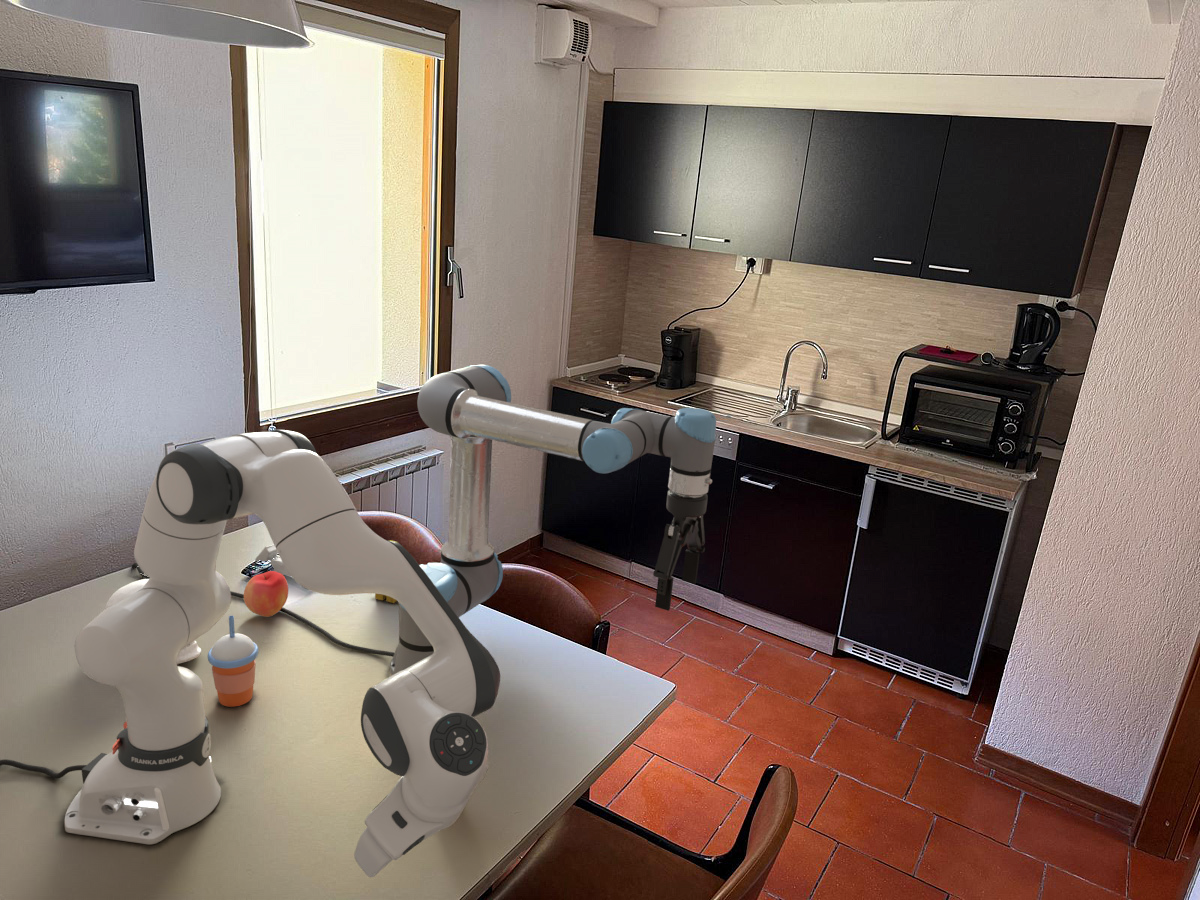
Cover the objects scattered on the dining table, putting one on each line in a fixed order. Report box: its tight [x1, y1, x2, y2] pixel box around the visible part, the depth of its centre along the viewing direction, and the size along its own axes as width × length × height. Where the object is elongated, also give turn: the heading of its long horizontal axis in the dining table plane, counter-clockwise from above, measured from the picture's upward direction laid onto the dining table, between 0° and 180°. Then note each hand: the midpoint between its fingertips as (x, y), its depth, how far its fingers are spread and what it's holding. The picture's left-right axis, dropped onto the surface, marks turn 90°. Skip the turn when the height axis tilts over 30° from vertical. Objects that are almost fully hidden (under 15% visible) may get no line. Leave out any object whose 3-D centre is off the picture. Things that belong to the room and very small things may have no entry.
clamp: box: [254, 544, 292, 577], centre depth 219 cm, size 20×4×7 cm, turn 62°
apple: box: [243, 570, 289, 618], centre depth 199 cm, size 10×10×10 cm
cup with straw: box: [207, 615, 260, 708], centre depth 166 cm, size 9×9×18 cm
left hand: (415, 830), depth 120 cm, fingers open, 8 cm apart
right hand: (676, 594), depth 165 cm, fingers open, 13 cm apart
